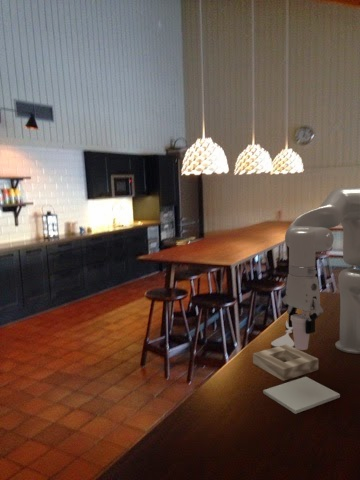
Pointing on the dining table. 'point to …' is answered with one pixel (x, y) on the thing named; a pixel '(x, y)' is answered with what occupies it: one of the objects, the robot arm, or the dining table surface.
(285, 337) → the white long flared piece
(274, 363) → the wooden square frame
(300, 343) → the smoothie
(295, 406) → the serving board
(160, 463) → the dining table surface
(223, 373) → the dining table surface
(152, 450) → the dining table surface
